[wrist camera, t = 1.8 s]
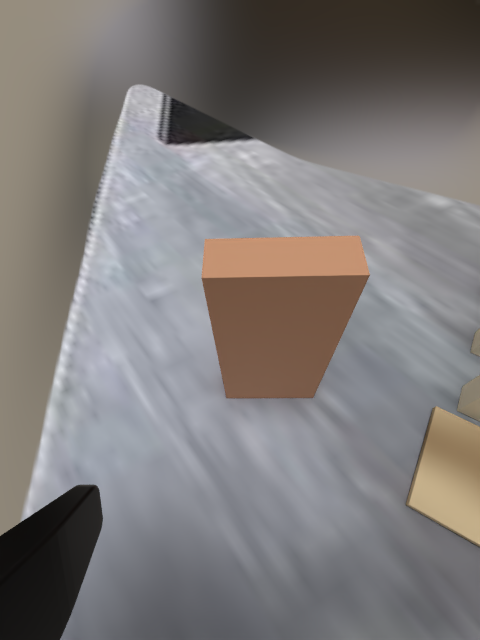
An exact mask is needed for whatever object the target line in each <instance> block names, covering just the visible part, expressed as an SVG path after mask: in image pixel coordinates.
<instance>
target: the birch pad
mask: <svg viewBox="0 0 480 640" xmlns="http://www.w3.org/2000/svg"><path fill="white" fill-rule="evenodd" d="M406 505H407V506H409V507H410V508H412V509H414V510H416V511H417V512H419V513H421V514H423V515H424V516H426V517H428V518H430V519H431V520H433V521H435V522H437V523H438V524H440V525H442V526H444V527H445V528H447V529H449V530H451V531H452V532H454V533H456V534H458V535H459V536H461V537H463V538H465V539H466V540H468V541H470V542H472V543H473V544H475V545H477V546H479V547H480V427H479V426H477V425H475V424H473V423H470V422H468V421H466V420H464V419H462V418H460V417H458V416H456V415H453V414H451V413H449V412H447V411H445V410H443V409H441V408H439V407H434V408H433V410H432V413H431V417H430V421H429V424H428V428H427V431H426V435H425V438H424V442H423V445H422V449H421V453H420V456H419V460H418V463H417V467H416V470H415V474H414V478H413V481H412V485H411V488H410V492H409V495H408V499H407V502H406Z"/></svg>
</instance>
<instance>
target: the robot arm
mask: <svg viewBox="0 0 480 640" xmlns="http://www.w3.org/2000/svg"><path fill="white" fill-rule="evenodd" d="M102 522H103V515H102V507H101V499H100V492H99V488H98V487H97V486H96V485H77V486H75V487H73V488H72V489H70V490H69V491H67V492H66V493H64V494H63V495H61V496H60V497H58V498H57V499H55V500H54V501H52V502H51V503H49V504H48V505H46V506H45V507H43V508H42V509H40V510H39V511H37V512H36V513H34V514H33V515H31V516H30V517H28V518H27V519H25V520H24V521H22V522H21V523H19V524H18V525H16V526H15V527H13V528H12V529H10V530H9V531H7V532H6V533H4V534H3V535H1V536H0V640H60V638H61V636H62V634H63V632H64V629H65V627H66V625H67V622H68V620H69V618H70V615H71V613H72V610H73V607H74V605H75V602H76V599H77V597H78V594H79V591H80V588H81V585H82V582H83V580H84V577H85V574H86V571H87V568H88V565H89V562H90V560H91V557H92V554H93V551H94V548H95V545H96V543H97V540H98V537H99V534H100V531H101V528H102Z"/></svg>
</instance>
